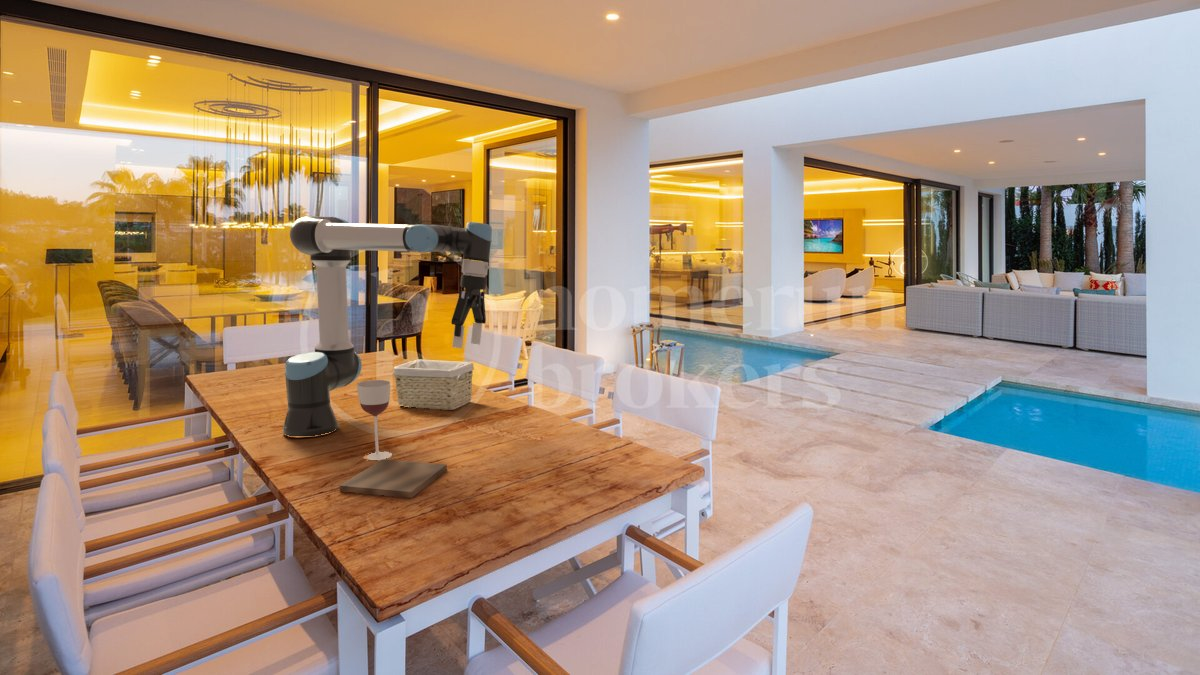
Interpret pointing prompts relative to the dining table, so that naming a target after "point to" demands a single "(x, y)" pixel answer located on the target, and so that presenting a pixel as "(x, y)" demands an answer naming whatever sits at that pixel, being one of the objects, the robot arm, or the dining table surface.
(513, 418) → the dining table surface
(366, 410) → the wineglass
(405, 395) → the storage basket
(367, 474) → the walnut board
